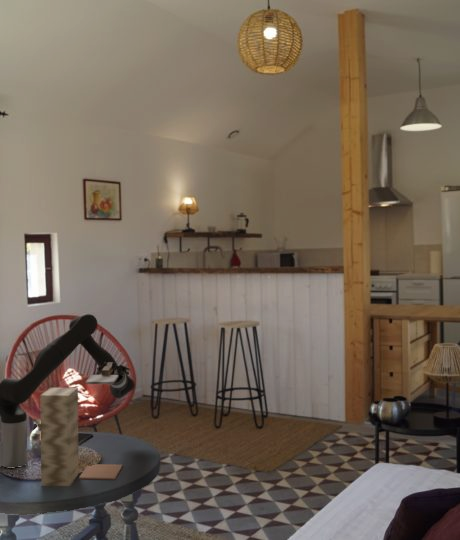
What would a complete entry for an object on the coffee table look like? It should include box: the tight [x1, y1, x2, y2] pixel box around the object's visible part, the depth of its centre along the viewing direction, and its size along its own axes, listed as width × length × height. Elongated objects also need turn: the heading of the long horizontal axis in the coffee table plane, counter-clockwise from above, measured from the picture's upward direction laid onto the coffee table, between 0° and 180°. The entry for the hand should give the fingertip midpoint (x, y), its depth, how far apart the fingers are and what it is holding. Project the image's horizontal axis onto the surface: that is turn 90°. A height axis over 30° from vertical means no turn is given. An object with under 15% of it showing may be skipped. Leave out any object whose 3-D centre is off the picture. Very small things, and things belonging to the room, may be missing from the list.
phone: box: [78, 432, 94, 447], centre depth 283 cm, size 8×1×15 cm
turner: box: [85, 362, 118, 385], centre depth 248 cm, size 10×23×2 cm, turn 0°
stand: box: [39, 387, 80, 487], centre depth 235 cm, size 10×12×32 cm
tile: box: [78, 463, 123, 480], centre depth 244 cm, size 13×14×1 cm
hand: (109, 364), depth 254 cm, fingers closed on turner, 2 cm apart
